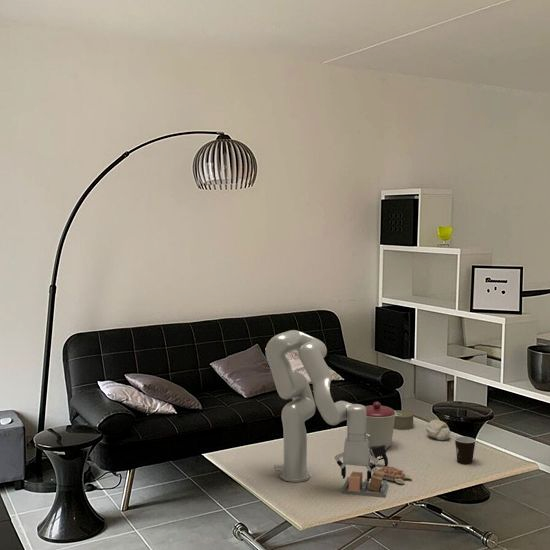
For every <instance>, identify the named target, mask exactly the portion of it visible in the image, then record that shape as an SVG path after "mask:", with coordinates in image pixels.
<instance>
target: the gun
mask: <svg viewBox="0 0 550 550" xmlns="http://www.w3.org/2000/svg"><path fill="white" fill-rule="evenodd" d="M369 448H370V455H372V456H373V457H375V458H377V459H378V460H379V461H381V460H383V462H384V465H383V467H387V466H388V465H389V458H388V456H387V453H388V452H387V451H388V448H386V446H385V445H381V446H372V447H369Z"/></svg>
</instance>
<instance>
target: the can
mask: <svg viewBox="0 0 550 550" xmlns="http://www.w3.org/2000/svg"><path fill="white" fill-rule="evenodd" d="M395 411H396V412H397V414H396V415H395V421H394V429H393V430H397V431H407V430H408V431H409V429H410V430H413V428H414V415H415V414H414V413H413V412H412V411H409V410H403V409H402V410H400V409H399V410H397V409H396V410H395Z"/></svg>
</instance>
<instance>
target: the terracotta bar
mask: <svg viewBox="0 0 550 550" xmlns="http://www.w3.org/2000/svg"><path fill="white" fill-rule="evenodd" d="M363 474H364V473H363V471H354V470H352V471H351V473H350V475H349V476H348V477H349V490H350V491H360V489H361V487H362V482H363Z"/></svg>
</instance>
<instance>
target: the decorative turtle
mask: <svg viewBox="0 0 550 550" xmlns="http://www.w3.org/2000/svg"><path fill="white" fill-rule="evenodd" d="M374 470H377V471H380V472H383V473H384V476H383V479H384V480H385V481H391V482H396V483H397V484H401V485H402V484H405V483H406V482H405V480H404V479H409V480H413V477H412V476H409V475H406V474H405V473H404V471H405V470H404V469H398V468H396V467H394V466H390V465H389V466H387V467H384V466H382V467H380V468H379V467H375V468H374V469H373V470H372V473H373V472H374ZM384 480H382V483H381V484H383V481H384Z"/></svg>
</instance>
